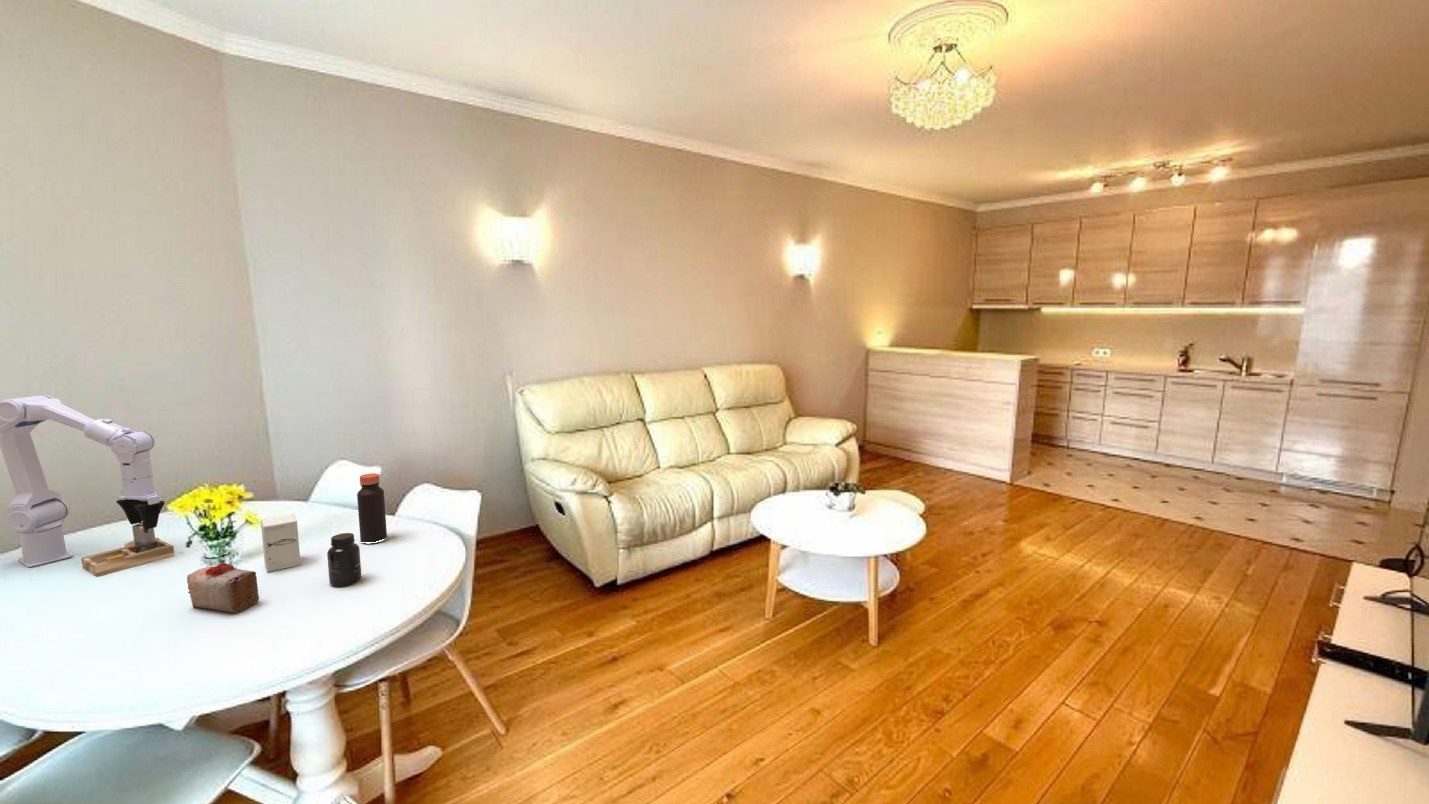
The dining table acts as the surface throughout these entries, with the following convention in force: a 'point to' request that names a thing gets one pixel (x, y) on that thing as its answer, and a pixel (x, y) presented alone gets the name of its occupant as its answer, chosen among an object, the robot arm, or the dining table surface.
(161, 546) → the board
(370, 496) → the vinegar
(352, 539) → the supplement bottle
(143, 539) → the cell
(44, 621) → the dining table surface
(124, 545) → the dish
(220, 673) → the dining table surface
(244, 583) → the food item
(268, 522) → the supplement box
